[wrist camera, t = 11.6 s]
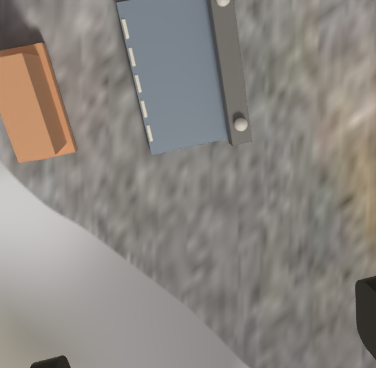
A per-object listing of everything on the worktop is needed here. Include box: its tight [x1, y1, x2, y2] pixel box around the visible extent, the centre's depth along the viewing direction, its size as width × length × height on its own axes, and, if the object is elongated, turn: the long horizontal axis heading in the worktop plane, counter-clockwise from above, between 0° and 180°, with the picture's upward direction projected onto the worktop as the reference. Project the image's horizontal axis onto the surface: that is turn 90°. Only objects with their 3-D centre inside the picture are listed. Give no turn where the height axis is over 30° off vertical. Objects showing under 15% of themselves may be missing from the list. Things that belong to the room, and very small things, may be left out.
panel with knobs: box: [116, 0, 252, 155], centre depth 33 cm, size 15×10×3 cm, turn 11°
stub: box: [0, 43, 77, 163], centre depth 30 cm, size 10×4×6 cm, turn 11°
